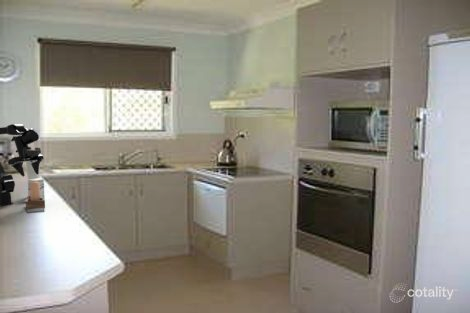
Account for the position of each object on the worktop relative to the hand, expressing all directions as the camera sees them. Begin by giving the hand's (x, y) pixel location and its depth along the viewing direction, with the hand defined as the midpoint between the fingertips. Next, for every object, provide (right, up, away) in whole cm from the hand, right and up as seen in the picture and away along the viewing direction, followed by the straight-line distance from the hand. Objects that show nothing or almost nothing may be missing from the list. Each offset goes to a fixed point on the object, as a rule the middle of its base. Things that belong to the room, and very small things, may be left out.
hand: (30, 175), depth 250 cm
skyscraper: (-13, -14, +35) cm, 40 cm away
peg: (+3, -17, 0) cm, 17 cm away
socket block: (+3, -17, 0) cm, 17 cm away
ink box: (-7, -15, +24) cm, 29 cm away
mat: (+7, -17, -11) cm, 22 cm away
